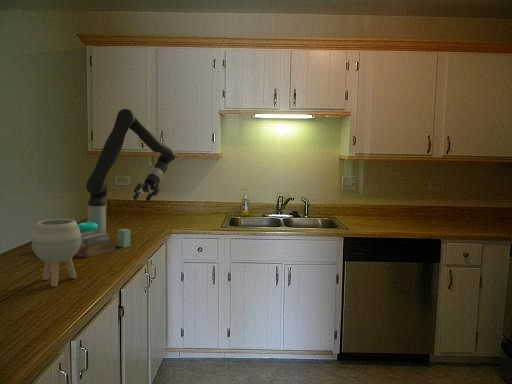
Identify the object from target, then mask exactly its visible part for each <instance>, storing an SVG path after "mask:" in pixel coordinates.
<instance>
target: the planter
mask: <svg viewBox="0 0 512 384" xmlns="http://www.w3.org/2000/svg"><path fill="white" fill-rule="evenodd" d="M81 233H82V232H81V231H80V230H79V227H78V223H77V221H76V220H74V219H69V218H58V219H57V218H56V219H55V218H54V219H53V218H52V219H45V220H41V221H38V222H36V223H35V225H34V228H33V231H32V236H31V248H32V252H33V253H34V254H35V256H37V257H38V258H39V259H40V260H42V262H44V268H43V273H42V280H43V281H47V280H49V279H50V285H51V287H52V288H55V287H57V286H59V284H58V283H59V272H60V263H61V262H64V264H65V266H66V269H67V272H68V274H69V276H70V278H71V279H76V278H77V272H76V269H75V266H74V263H73V257H74V256H76V255H75V254H76V253H77V252H78V250H79V248H80V245H81Z"/></svg>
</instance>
